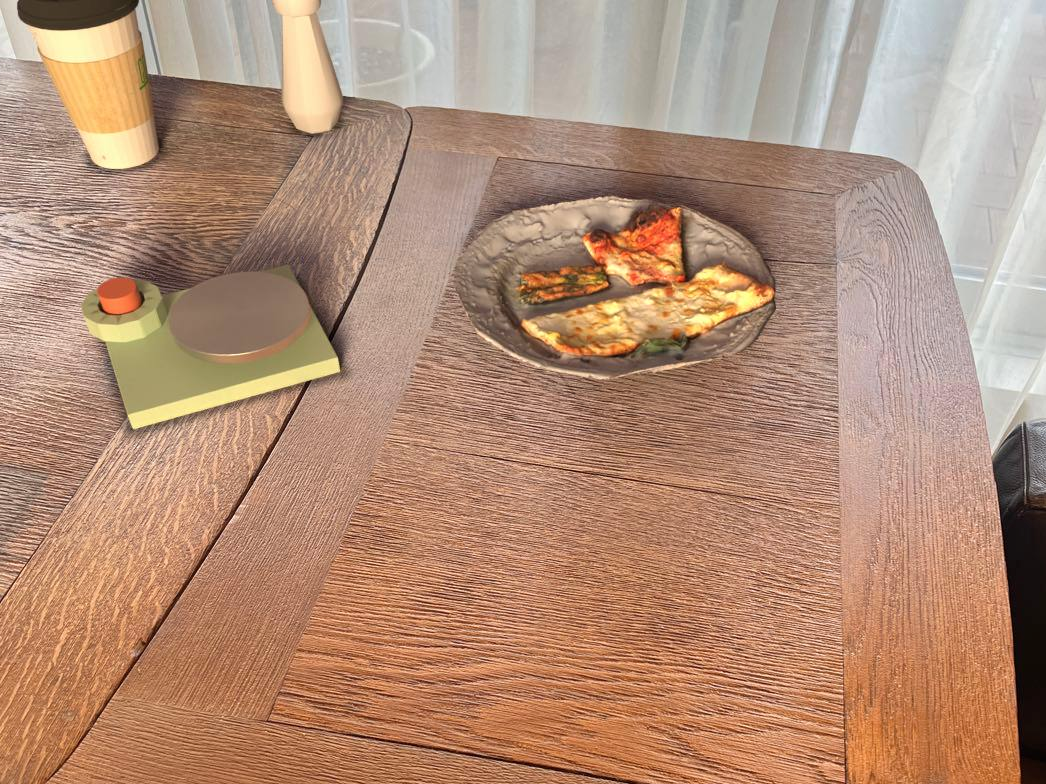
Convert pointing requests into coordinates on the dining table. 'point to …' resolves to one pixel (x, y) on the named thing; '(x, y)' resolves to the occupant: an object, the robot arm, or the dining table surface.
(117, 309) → the button
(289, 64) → the salt shaker
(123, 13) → the coffee cup
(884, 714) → the dining table surface
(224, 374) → the scale
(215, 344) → the scale pan
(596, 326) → the food plate
